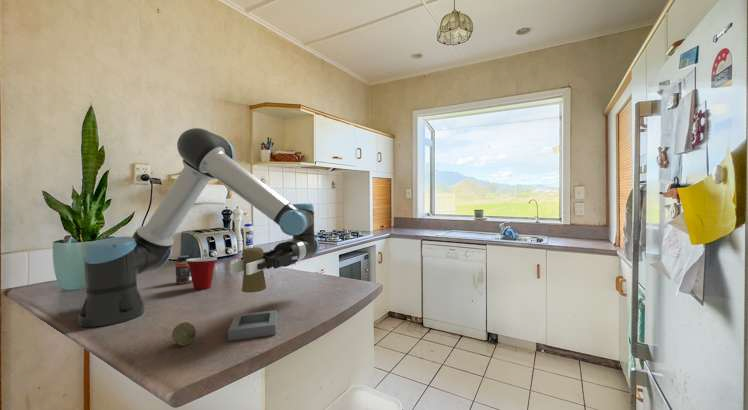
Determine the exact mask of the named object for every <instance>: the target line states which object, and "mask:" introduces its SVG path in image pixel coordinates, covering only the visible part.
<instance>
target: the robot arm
mask: <svg viewBox="0 0 748 410" xmlns="http://www.w3.org/2000/svg"><path fill="white" fill-rule="evenodd" d="M176 146H177V147H176V148H177V152H178V154H179V156H180V157H181V158H182V161H181V162H182V164H183V168H182V170H181V172H180V173H179V175H178V176H177V177H176V179H175V181H174V182H173V184H172V185H171V186H170V188H169V189H168V191H167V193H166V195H165V196H164V197H163V198H162V200H161V202H160V203H159V205H158V207H157V208H156V209H155V211H154V212H153V214H152V215H151V217H149V218H150V219H149V220H148V221H147V223H146V224H145V225H144V226H140V227H138V228H136V230H135V231H134V232H133V235H132V236H115V237H109V238H102V239H98V240H94V241H92V242H90V243H88V244H87V245H86V247H85V248H84V257H83V261H84V275H85V276H84V278H85V279H84V280H85V298H84V301H83V303H82V306H81V309H80V311H79V314H78V318H77V319H78V325H79V326H80V327H84V328H87V327H88V328H90V327H91V328H93V327H103V326H110V325H115V324H118V323H123V322H126V321H129V320H132V319H135V318H137V317H140V316H141V315H143V314H144V313H145V312H146V309H145V306H146V305H145V302H144V300H143V298H142V296H141V294H140V292H139V290H138V284H137V283H138V282H137V281H138V279H137V275H141V274H143V273H147V272H150V271H154V270H157V269H159V268H160V267H162V266H164V265H165V264H166V263H167V262H168V261H169V260H170V259H171V256H172V252H173V249H172V246H173V245H174V243H175V241H174V239H173V236H174V234H175V233H176V232H177V230H178V228H179V227H180V226H181V224H182V223H183V221H184V219H185V218H186V216H187V215H188V213H189V211H190V210H191V209H192V207H193V206H194V205H195V203H196V201H197V199H198V198H199V196H200V195H201V194H202V192H203V190H204V189H205V188H206V186H207V184H208V183H209V182H210V181H212V180H218V181H219V182H220V183H221V184H223V185H224V186H226V187H227V188H228V189H229V190H230V191H232V192H234V193H235V194H236V195H237V196H239V197H240V198H242V199H243V200H244V201H246V202H247V203H249V204H250V206H252V207H254V208H255V209H257V210H258V211H259V212H261V214H263V215H265V216H266V217H268V219H270V220H271V221H273V222H274V223H275V224H277V225H278V226H279V227H280V230H281V231H282V232H283V234H285V235H288V236H291V237H292V239H290V240H286V241H283V242H279V243H278V244H276V245H275V246H274V248H273V249H271V250H270V251H265V252H264V251H263V252H264V255H263V258H262V259H261V260H257V261H254V262H251V263H248V264H246V275H251V274H253V273H256V272H259V271H261V270H263V271H264V270H265V269H268V270H269V269H272V268H273V269H279V268H281V267H282V268H285V267H286V268H287V267H289V266H291V265H296V264H297V263H298V262H302V261H303V260H306V259H310V258H312V257H313V256H315V255H316V254H318V252H319V251H320V242H319V240H318V238H317V237H315V236H316V234H315V211H314V210H315V209H314V205H313V204H312V203H293V204H292V203H291V202H290V201H288V200H287V199H286V198H284V197H283V196H282V195H280V194H279V193H278V192H276V191H275V190H274V189H273V188H271V187H270V186H269V185H267V184H266V183H264V182H263V181H262V180H261V179H259V178H258V177H257V176H255V175H253V174H252V173H251V172H250V171H248V170H247V169H246V168H244V167H243V166H242V165H240V164H239V163H238V162H236V161H235V150H234V146H233V145H232V144H231V143H230V142H229V141H228V140H227V139H225V138H224V137H222V136H220V135H218V134H216V133H213V132H211V131H208V130H207V129H204V128H199V127H193V128H189V129H187V130H185V131H183V132H182V133H181V134H180V135H179V137H178V139H177V143H176ZM244 265H245V260H244V259H243V256H241V258H240V260H237V261H234V262H230V263H229V274H230V275H235V274H237V273H240V272H244Z"/></svg>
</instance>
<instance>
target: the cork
mask: <svg viewBox="0 0 748 410" xmlns="http://www.w3.org/2000/svg"><path fill="white" fill-rule="evenodd" d="M263 255H264V250H263V248H261V247H258V246H257V247H256V246H253V247H251V246H250V247H247V248H245V249H244V250H243V251H242V256H241V257H243V259H244V260H245V265H244V271H243V276H242V285H241V291H242V292H243V293H257V292H262V291H265V290H266V289H267V282H266V279H265V277H266V276H265V271H264V270H261V271H259V272H256V273H253V274H251V275H246V264H248V263H251V262H254V261H257V260H261V259H262V258H263Z"/></svg>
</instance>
